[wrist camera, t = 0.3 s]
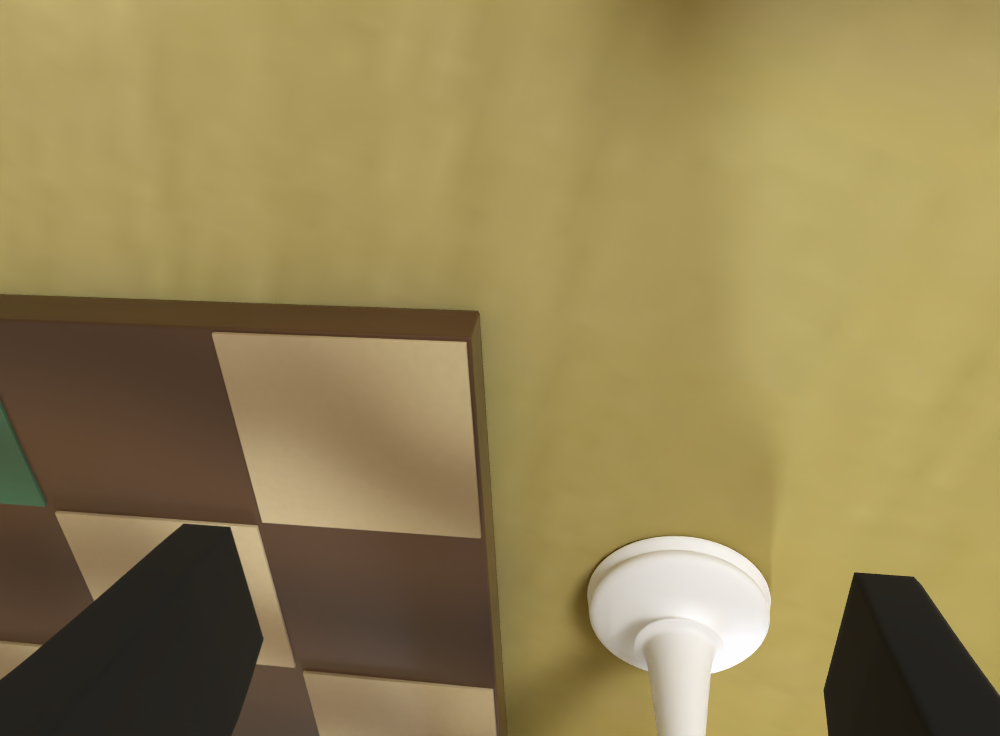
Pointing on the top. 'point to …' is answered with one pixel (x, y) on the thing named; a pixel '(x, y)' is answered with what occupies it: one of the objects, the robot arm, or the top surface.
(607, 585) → the chess piece
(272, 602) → the game board
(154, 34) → the top surface
